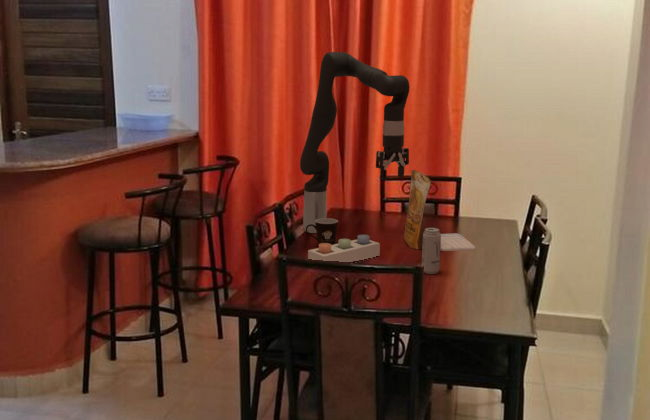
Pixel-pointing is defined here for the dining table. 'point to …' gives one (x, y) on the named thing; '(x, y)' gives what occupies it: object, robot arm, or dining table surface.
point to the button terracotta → (324, 248)
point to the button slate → (363, 239)
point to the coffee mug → (325, 230)
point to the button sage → (344, 244)
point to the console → (347, 252)
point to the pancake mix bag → (416, 209)
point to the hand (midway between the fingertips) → (392, 178)
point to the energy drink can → (431, 250)
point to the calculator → (455, 243)
